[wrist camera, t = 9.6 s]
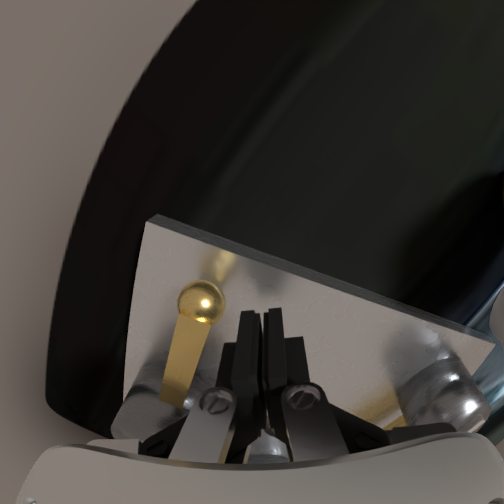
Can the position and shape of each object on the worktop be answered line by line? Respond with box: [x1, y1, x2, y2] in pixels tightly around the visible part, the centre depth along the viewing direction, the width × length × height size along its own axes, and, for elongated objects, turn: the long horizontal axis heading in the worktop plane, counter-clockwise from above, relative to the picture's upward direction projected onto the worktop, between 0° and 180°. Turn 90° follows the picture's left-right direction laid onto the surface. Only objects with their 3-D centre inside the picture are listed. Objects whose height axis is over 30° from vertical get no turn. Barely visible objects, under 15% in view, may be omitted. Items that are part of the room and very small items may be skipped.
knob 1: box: [111, 280, 226, 441], centre depth 14 cm, size 14×6×6 cm, turn 160°
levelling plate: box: [123, 214, 496, 458], centre depth 19 cm, size 26×23×2 cm
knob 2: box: [382, 358, 491, 433], centre depth 15 cm, size 14×6×6 cm, turn 143°
